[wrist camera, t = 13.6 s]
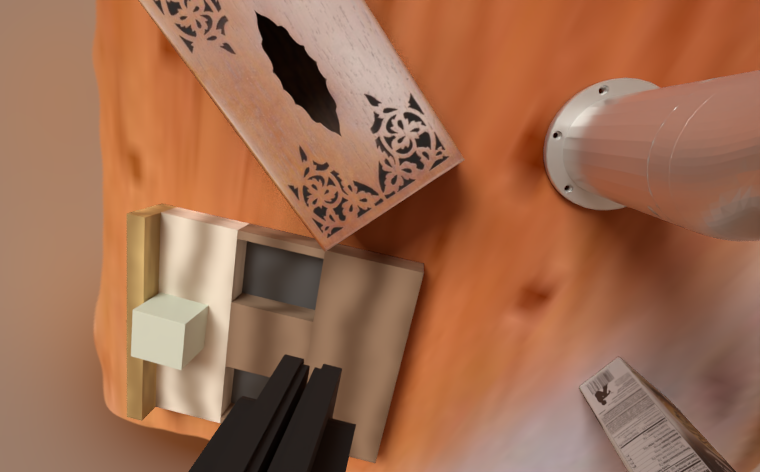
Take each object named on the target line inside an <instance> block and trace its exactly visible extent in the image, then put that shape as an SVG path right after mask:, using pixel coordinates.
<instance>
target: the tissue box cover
mask: <svg viewBox="0 0 760 472" xmlns="http://www.w3.org/2000/svg"><path fill="white" fill-rule="evenodd" d="M138 1H139V2H140V3H141V5H142V6H143V7H144V9H145V10H146V11H147V13H148V14H149V15H150V17H151V18H152V20H153V21H154V22H155V24H156V25H157V26H158V28H159V29H160V30H161V32H162V33H163V34H164V36H165V37H166V38H167V40H168V41H169V42H170V44H171V45H172V47H173V48H174V49H175V51H176V52H177V53H178V55H179V56H180V57H181V59H182V60H183V61H184V63H185V64H186V65H187V67H188V68H189V69H190V71H191V72H192V74H193V75H194V76H195V78H196V79H197V80H198V82H199V83H200V84H201V86H202V87H203V88H204V90H205V91H206V92H207V94H208V95H209V96H210V98H211V99H212V101H213V102H214V103H215V105H216V106H217V107H218V109H219V110H220V111H221V113H222V114H223V115H224V117H225V118H226V119H227V121H228V122H229V123H230V125H231V126H232V128H233V129H234V130H235V132H236V133H237V134H238V136H239V137H240V138H241V140H242V141H243V142H244V144H245V145H246V146H247V148H248V149H249V150H250V152H251V153H252V155H253V156H254V157H255V159H256V160H257V161H258V163H259V164H260V165H261V167H262V168H263V169H264V171H265V172H266V173H267V175H268V176H269V177H270V179H271V180H272V182H273V183H274V184H275V186H276V187H277V188H278V190H279V191H280V192H281V194H282V195H283V196H284V198H285V199H286V200H287V202H288V203H289V204H290V206H291V207H292V209H293V210H294V211H295V213H296V214H297V215H298V217H299V218H300V219H301V221H302V222H303V223H304V225H305V226H306V227H307V229H308V230H309V231H310V233H311V234H312V236H313V237H314V238H315V240H316V241H317V242H318V244H319V245H320V246H321V248H322V249H323V250H324V252H326V251H327V250H329V249H330V248H332V247H333V246H335V245H336V244H338V243H339V242H341V241H342V240H344V239H345V238H347V237H348V236H350V235H351V234H353V233H354V232H356V231H357V230H359V229H361V228H362V227H364V226H365V225H367V224H368V223H370V222H371V221H373V220H374V219H376V218H377V217H379V216H380V215H382V214H383V213H385V212H386V211H388V210H389V209H391V208H392V207H394V206H395V205H397V204H398V203H400V202H401V201H403V200H404V199H406V198H408V197H409V196H411V195H412V194H414V193H415V192H417V191H418V190H420V189H421V188H423V187H424V186H426V185H427V184H429V183H430V182H432V181H433V180H435V179H436V178H438V177H439V176H441V175H442V174H444V173H445V172H447V171H448V170H450V169H451V168H453V167H455V166H456V165H458V164H459V163H461V162H462V161H464V160H465V159H464V158H463V156H462V155H461V153H460V152H459V150H458V148H457V147H456V145H455V144H454V142H453V140H452V139H451V137H450V136H449V134H448V133H447V131H446V129H445V128H444V126H443V125H442V123H441V121H440V120H439V118H438V117H437V115H436V114H435V112H434V110H433V109H432V107H431V106H430V104H429V102H428V101H427V99H426V98H425V96H424V95H423V93H422V91H421V90H420V88H419V87H418V85H417V83H416V82H415V80H414V79H413V77H412V76H411V74H410V72H409V71H408V69H407V68H406V66H405V64H404V63H403V61H402V60H401V58H400V56H399V55H398V53H397V52H396V50H395V49H394V47H393V45H392V44H391V42H390V41H389V39H388V37H387V36H386V34H385V33H384V31H383V30H382V28H381V26H380V25H379V23H378V22H377V20H376V18H375V17H374V15H373V14H372V12H371V11H370V9H369V7H368V6H367V4H366V3H365V1H364V0H138Z"/></svg>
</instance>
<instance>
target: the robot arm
mask: <svg viewBox="0 0 760 472" xmlns="http://www.w3.org/2000/svg"><path fill="white" fill-rule="evenodd" d="M599 89H602V92H601V94H600V93H599ZM554 133H556V134H557V137H556V138H553V134H554ZM544 164H545V169H546V173H547V175H548V177H549V179H550V181H551V183H552V184H553V186H554V187H555V188H556V190H557V191H558V192H559V193H560V194H561V195H562V196H564V197H565V198H566V199H568V200H570V201H571V202H573V203H575V204H577V205H580V206H582V207H584V208H589V209H594V210H615V209H621V208H624V207H630V208H632V209H635V210H638V211H640V212H643V213H646V214H648V215H651V216H654V217H656V218H659V219H662V220H664V221H667V222H670V223H672V224H675V225H678V226H680V227H683V228H686V229H689V230H692V231H694V232H697V233H700V234H703V235H706V236H709V237H713V238H717V239H723V240H730V241H759V240H760V70H758V71H752V72H747V73H741V74H736V75H732V76H726V77H719V78H714V79H708V80H703V81H697V82H692V83H686V84H681V85H675V86H670V87H664V88H660V87H658V86H656V85H655V84H653V83H651V82H647V81H644V80H641V79H634V78H618V79H610V80H606V81H602V82H599V83H597V84H594V85H592V86H589V87H587V88H585V89H584V90H582V91H580V92H579V93H577V94H576V95H574V96H573V97H572V98H571V99H570V100H569V101H567V102H566V103H565V104H564V106H563V107H562V108H561V109H560V110H559V111H558V113H557V114H556V116H555V117H554V119H553V121H552V123H551V124H550V127H549V129H548V132H547V135H546V138H545V143H544ZM566 185H567V186H568V188H567V189H566V190H564V188H565V186H566ZM309 369H310V366H309V365H305V364H304V359H303V358H299V357H295V356H291V355H286V354H285V355H284V356H283V358H282V359H281V361H280V362H279V364H278V366H277V367H276V369H275V371H274V372H273V374H272V375H271V377H270V379H269V380H268V382H267V384H266V385H265V387H264V388H263V390H262V392H261V393H260V395H259V397H258V398H257V399H254V398H250V397H246V396H242V397H240V398H239V399H238V401H237V402H236V403H235V405H234V406H233V408H232V409H231V411H230V412H229V413H228V415H227V416H226V418H225V419H224V421H223V422H222V424H221V425H220V427H219V428H218V430H217V431H216V432H215V434H214V435H213V437H212V438H211V440H210V441H209V443H208V444H207V446H206V447H205V448H204V450H203V451H202V453H201V454H200V456H199V457H198V459H197V460H196V462H195V463H194V465H193V466H192V467H191V469H190V470H189V472H346V467H347V463H348V458H349V454H350V449H351V445H352V441H353V436H354V432H355V427H356V424H352V423H349V422H345V421H341V420H337V419H333V413H334V408H335V403H336V398H337V393H338V388H339V383H340V378H341V373H342V368H339V367H335V366H331V365H327V364H323V366H322V368H317V367H315V368H314V370H313V372H312V374H311V376H310V379H309V381H308V375H309ZM307 381H308V383H307Z"/></svg>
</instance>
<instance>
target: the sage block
mask: <svg viewBox="0 0 760 472" xmlns="http://www.w3.org/2000/svg"><path fill="white" fill-rule="evenodd" d="M207 315H208V305H206V304H202V303H198V302H195V301H191V300H187V299H184V298H180V297H176V296H173V295H169V294H165V293H162V292H160V293H159V294H157V295H156V296H154V297H152V298H151V299H149V300H148V301H146V302H144V303H143V304H141V305H140V306H138V307H136V308H135V309H133V314H132V340H131V356H132V357H136V358H139V359H143V360H146V361H150V362H154V363H157V364H161V365H164V366H168V367H171V368H175V369H179V370H182V369H183V368H184V367H185V366H186V365H187V364H188V363H189V362H190V361H191V360H192V359H193V358H194V357H195V356H196V355H197V354H198V353H199V352H200V351H201V350H202V349H203V348H204V343H205V333H206V324H207Z"/></svg>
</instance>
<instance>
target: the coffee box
mask: <svg viewBox="0 0 760 472" xmlns="http://www.w3.org/2000/svg"><path fill="white" fill-rule="evenodd" d="M579 389H580V391H581V393H582V394H583V396H584V398H585V399H586V401H587V403H588V404H589V406H590V408H591V409H592V411H593V413H594V414H595V416H596V418H597V420H598V421H599V423H600V425H601V426H602V428H603V430H604V431H605V433H606V435H607V437H608V438H609V440H610V442H611V443H612V445H613V447H614V449H615V450H616V452H617V454H618V455H619V457H620V459H621V460H622V462H623V464H624V466H625V467H626V469H627V471H628V472H736V471H735V470H734V469H733V468H732V467H731V466H730V465H729V464H728V463H727V462H726V460H725V459H724V458H723V457H722V456H721V455H720V454H719V453H718V452H717V451H716V450H715V449H714V448H713V446H712V445H711V444H710V443H709V442H708V441H707V440H706V439H705V438H704V437H703V436H702V434H701V433H700V432H699V431H698V430H697V429H696V428H695V427H694V426H693V425H692V424H691V423H690V421H689V420H688V419H687V418H686V417H685V416H684V415H683V414H682V413H681V412H680V411H679V410H678V409H677V408H676V407H675V405H674V404H673V403H672V402H671V401H670V400H669V399H668V398H667V397H665V396H664V395H663V394H662V393H661V392H660V391H658V390H657V389H656V388H655V387H654V386H653V385H651V384H650V383H649V382H648V381H647V380H646V379H644V378H643V377H642V376H641V375H640V374H639V373H638V372H636V371H635V370H634V369H633V368H632V367H631V366H629V365H628V364H627V363H626V362H625V361H624V360H623V359H621V358H620V357H617V358H616V359H615V360H613V361H612V362H611V363H610V364H608V365H607V366H606V367H604V368H603V369H602V370H600V371H599V372H598V373H596V374H595V375H594V376H592V377H591V378H590V379H588V380H587V381H586V382H585V383H583V384H582V385H581V386H579Z"/></svg>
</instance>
